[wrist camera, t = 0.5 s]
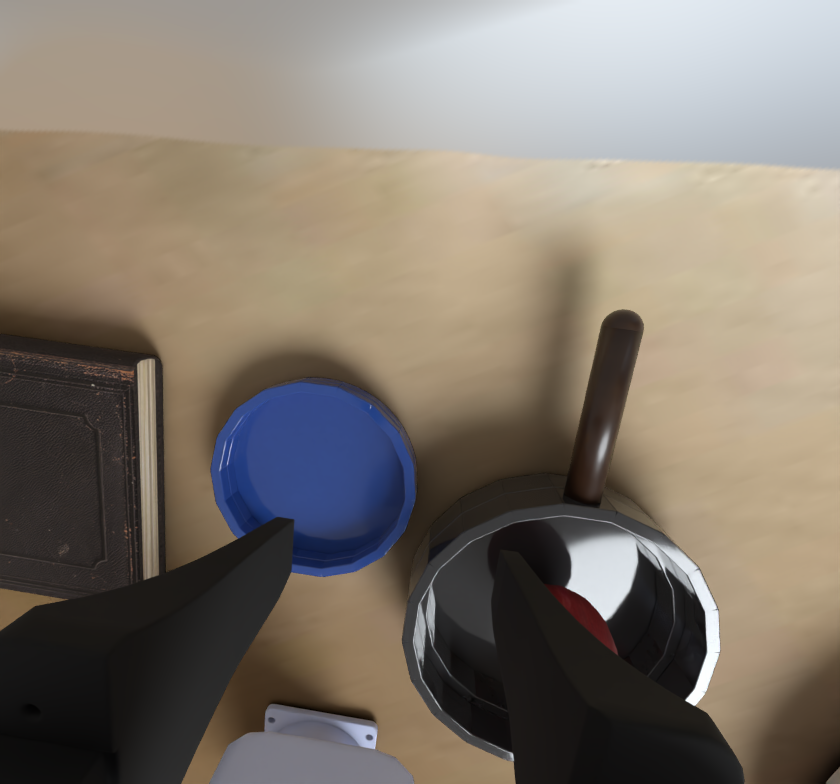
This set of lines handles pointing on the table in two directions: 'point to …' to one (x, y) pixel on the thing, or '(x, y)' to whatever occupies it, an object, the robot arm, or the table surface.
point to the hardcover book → (79, 468)
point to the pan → (834, 778)
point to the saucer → (317, 472)
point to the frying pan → (555, 565)
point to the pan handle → (604, 405)
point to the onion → (584, 614)
